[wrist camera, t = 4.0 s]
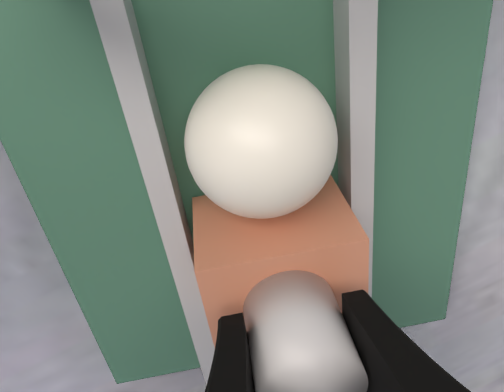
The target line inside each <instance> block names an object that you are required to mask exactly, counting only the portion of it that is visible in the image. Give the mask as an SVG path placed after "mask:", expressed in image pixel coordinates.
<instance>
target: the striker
mask: <svg viewBox="0 0 504 392" xmlns="http://www.w3.org/2000/svg"><path fill="white" fill-rule="evenodd" d="M192 207H193V241H194V272H195V276H196V280H197V284H198V287H199V291H200V295H201V299H202V302H203V306H204V310H205V314H206V317H207V321H208V325H209V329H210V332H211V336H212V340H213V344H214V347H215V345H216V339H217V330H218V320H219V319H220V317H222V316H227V315H232V314H237V313H242V312H243V317H244V322H245V327H246V332H247V338H248V344H249V351H250V357H251V364H252V373H253V380H254V386H255V392H367V389H368V377H367V374H366V371H365V369H364V367H363V364H362V362H361V359H360V357H359V354H358V352H357V349H356V347H355V345H354V342H353V340H352V337H351V335H350V332H349V330H348V328H347V325H346V323H345V320H344V318H343V315H342V293H346V292H352V291H357V290H362V289H363V290H364V291H366V292H367V293H368V287H369V238H368V236H367V234H366V233H365V231H364V229H363V228H362V226H361V224H360V223H359V221H358V219H357V218H356V216H355V214H354V213H353V211H352V209H351V208H350V206H349V204H348V203H347V201H346V199H345V198H344V196H343V194H342V193H341V191H340V189H339V188H338V186H337V184H336V183H335V181H334V179H333V178H332V176H331V174H330V176H329V178H328V180H327V182H326V183H325V185H324V187H323V188H322V189H321V190H320V192H319V193H318V194H317V195H316V196H315V197H314V198H313V199H312V200H310V201H309V202H308V203H307V204H305V205H304V206H302V207H301V208H299V209H298V210H296V211H294V212H291V213H289V214H286V215H283V216H280V217H275V218H268V219H255V218H247V217H242V216H238V215H235V214H233V213H231V212H228V211H226V210H224V209H222V208H221V207H219V206H218V205H216V204H215V203H214V202H212V201H211V200H210V199H209V198H208V197H207V196H206V195H203V196H198V197H192Z"/></svg>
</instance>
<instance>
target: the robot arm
mask: <svg viewBox="0 0 504 392" xmlns="http://www.w3.org/2000/svg"><path fill="white" fill-rule="evenodd" d="M342 315H343V318H344V320H345V323H346V325H347V328H348V330H349V332H350V335H351V337H352V340H353V342H354V345H355V347H356V349H357V352H358V354H359V357H360V359H361V362H362V364H363V367H364V369H365V371H366V374H367V377H368V389H367V392H471V391H469V390H468V389H467V388H466V387H464V386H463V385H462V384H461V383H459V382H458V381H457V380H456V379H454V378H453V377H452V376H451V375H450V374H448V373H447V372H446V371H445V370H444V369H443V368H442V367H440V366H439V365H438V364H437V363H436V362H435V361H434V360H432V359H431V358H430V357H429V356H428V355H427V354H426V353H425V352H424V351H423V350H421V349H420V348H419V347H418V346H417V345H416V344H415V343H414V342H413V341H412V340H411V339H410V338H409V337H408V336H407V335H406V334H405V333H404V332H403V331H402V330H401V329H400V328H399V327H398V326H397V325H396V324H395V323H394V322H393V321H392V320H391V319H390V318H389V317H388V316H387V315H386V313H385V312H384V311H383V310H382V309H381V308H380V307H379V306H378V305H377V304H376V302H375V301H374V300H373V299H372V298H371V297H370V296H369V294H368V293H367V292H366V291H364V290H363V289H362V290H357V291H352V292H346V293H342ZM205 392H255V386H254V380H253V373H252V364H251V357H250V351H249V344H248V338H247V332H246V327H245V322H244V317H243V312H242V313H237V314H232V315H227V316H222V317H220V319H219V320H218V330H217V339H216V345H215V351H214V356H213V361H212V365H211V370H210V374H209V378H208V382H207V386H206V390H205Z"/></svg>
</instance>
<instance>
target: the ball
mask: <svg viewBox="0 0 504 392" xmlns="http://www.w3.org/2000/svg"><path fill="white" fill-rule="evenodd" d="M184 148H185V154H186V161H187V164H188V167H189V170H190V172H191V174H192V176H193V178H194V180H195V182H196V184H197V185H198V187H199V188H200V189H201V190H202V192H203V193H204V194H205V195H206V196H207V197H208V198H209V199H210V200H211V201H212V202H214V203H215V204H216V205H218V206H219V207H221V208H222V209H224V210H226V211H228V212H231V213H233V214H235V215H238V216H242V217H247V218H255V219H268V218H275V217H280V216H283V215H286V214H289V213H291V212H294V211H296V210H298V209H299V208H301V207H302V206H304V205H305V204H307V203H308V202H309V201H310V200H312V199H313V198H314V197H315V196H316V195H317V194H318V193H319V192H320V190H321V189H322V188H323V187H324V185H325V183H326V182H327V180H328V178H329V176H330V174H331V172H332V170H333V167H334V164H335V161H336V156H337V148H338V134H337V127H336V123H335V119H334V115H333V113H332V111H331V108H330V106H329V105H328V103H327V101H326V100H325V98H324V96H323V95H322V94H321V92H320V91H319V90H318V89H317V88H316V87H315V86H314V85H313V84H312V83H311V82H310V81H308V80H307V79H306V78H304V77H303V76H301V75H300V74H298V73H296V72H294V71H292V70H289V69H286V68H283V67H280V66H275V65H269V64H254V65H247V66H243V67H239V68H236V69H233V70H231V71H228V72H227V73H225V74H223V75H221V76H219V77H218V78H217V79H215V80H214V81H213V82H211V83H210V84H209V85H208V86H207V87H206V88H205V89H204V91H203V92H202V93H201V94H200V95H199V97H198V98H197V100H196V102H195V103H194V105H193V107H192V109H191V111H190V114H189V116H188V120H187V123H186V128H185V136H184Z"/></svg>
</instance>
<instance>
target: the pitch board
mask: <svg viewBox="0 0 504 392" xmlns="http://www.w3.org/2000/svg"><path fill="white" fill-rule="evenodd" d="M492 4H493V0H0V140H1V142H2V144H3V146H4V148H5V151H6V153H7V155H8V157H9V159H10V161H11V163H12V165H13V167H14V169H15V171H16V174H17V176H18V178H19V180H20V182H21V184H22V186H23V188H24V190H25V192H26V194H27V197H28V199H29V201H30V203H31V205H32V207H33V209H34V211H35V213H36V215H37V217H38V220H39V222H40V224H41V226H42V228H43V230H44V232H45V234H46V236H47V238H48V241H49V243H50V245H51V247H52V249H53V251H54V253H55V255H56V257H57V259H58V261H59V264H60V266H61V268H62V270H63V272H64V274H65V276H66V278H67V280H68V282H69V284H70V287H71V289H72V291H73V293H74V295H75V297H76V299H77V301H78V303H79V305H80V307H81V310H82V312H83V314H84V316H85V318H86V320H87V322H88V324H89V326H90V328H91V331H92V333H93V335H94V337H95V339H96V341H97V343H98V345H99V347H100V349H101V351H102V354H103V356H104V358H105V360H106V362H107V364H108V366H109V368H110V370H111V372H112V374H113V377H114V379H115V381H116V383H117V384H119V383H124V382H129V381H134V380H139V379H144V378H149V377H154V376H159V375H164V374H169V373H175V372H180V371H185V370H190V369H195V368H200V367H201V370H202V373H203V377H204V380H205V383H206V386H207V382H208V378H209V374H210V370H211V365H212V361H213V356H214V351H215V347H214V344H213V340H212V336H211V332H210V329H209V325H208V321H207V317H206V314H205V310H204V306H203V302H202V299H201V295H200V291H199V287H198V284H197V280H196V276H195V272H194V241H193V207H192V197H198V196H203V195H205V194H204V193H203V192H202V190H201V189H200V188H199V187H198V185H197V184H196V182H195V180H194V178H193V176H192V174H191V172H190V170H189V167H188V164H187V161H186V154H185V148H184V136H185V128H186V123H187V120H188V116H189V114H190V111H191V109H192V107H193V105H194V103H195V102H196V100H197V98H198V97H199V95H200V94H201V93H202V92H203V91H204V89H205V88H206V87H207V86H208V85H209V84H210V83H211V82H213V81H214V80H215V79H217V78H218V77H219V76H221V75H223V74H225V73H227V72H228V71H231V70H233V69H236V68H239V67H243V66H247V65H254V64H269V65H275V66H280V67H283V68H286V69H289V70H292V71H294V72H296V73H298V74H300V75H301V76H303V77H304V78H306V79H307V80H308V81H310V82H311V83H312V84H313V85H314V86H315V87H316V88H317V89H318V90H319V91H320V92H321V94H322V95H323V96H324V98H325V100H326V101H327V103H328V105H329V106H330V108H331V111H332V113H333V115H334V119H335V123H336V127H337V134H338V148H337V156H336V161H335V164H334V167H333V170H332V172H331V176H332V178H333V179H334V181H335V183H336V184H337V186H338V188H339V189H340V191H341V193H342V194H343V196H344V198H345V199H346V201H347V203H348V204H349V206H350V208H351V209H352V211H353V213H354V214H355V216H356V218H357V219H358V221H359V223H360V224H361V226H362V228H363V229H364V231H365V233H366V234H367V236H368V238H369V287H368V294H369V296H370V297H371V298H372V299H373V300H374V301H375V302H376V304H377V305H378V306H379V307H380V308H381V309H382V310H383V311H384V312H385V313H386V315H387V316H388V317H389V318H390V319H391V320H392V321H393V322H394V323H395V324H396V325H397V326H398V327H399V328H402V327H407V326H412V325H417V324H422V323H427V322H432V321H437V320H442V319H445V317H446V311H447V304H448V297H449V291H450V284H451V278H452V271H453V264H454V258H455V251H456V244H457V238H458V231H459V224H460V218H461V211H462V204H463V198H464V191H465V184H466V178H467V171H468V164H469V158H470V151H471V144H472V138H473V131H474V124H475V118H476V111H477V104H478V98H479V91H480V84H481V78H482V71H483V64H484V58H485V51H486V44H487V38H488V31H489V24H490V18H491V11H492Z"/></svg>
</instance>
